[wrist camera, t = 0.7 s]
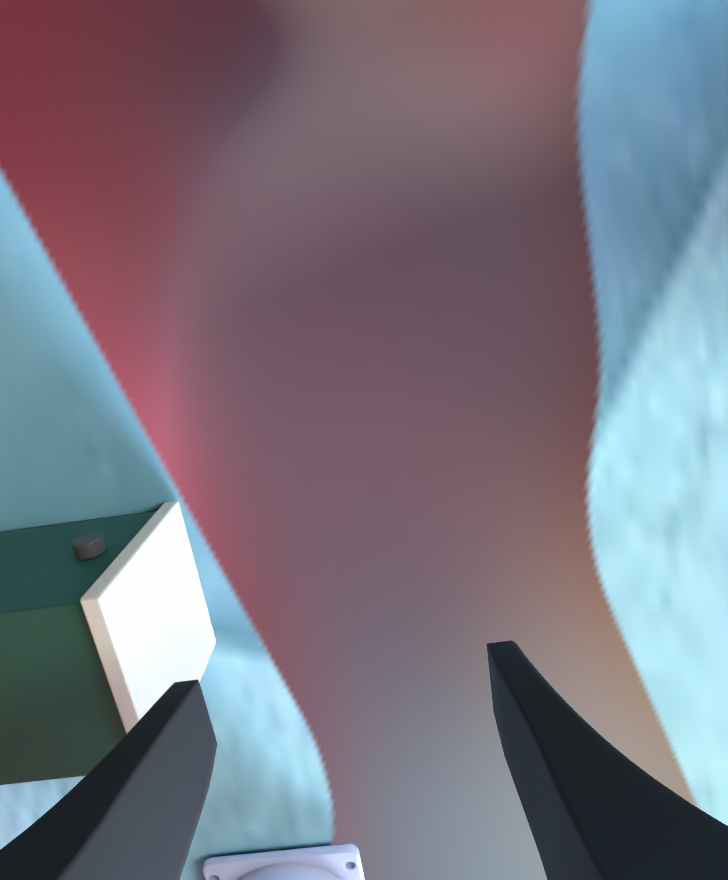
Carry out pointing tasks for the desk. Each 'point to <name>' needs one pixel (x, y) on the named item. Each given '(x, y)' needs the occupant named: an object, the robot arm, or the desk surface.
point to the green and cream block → (93, 636)
